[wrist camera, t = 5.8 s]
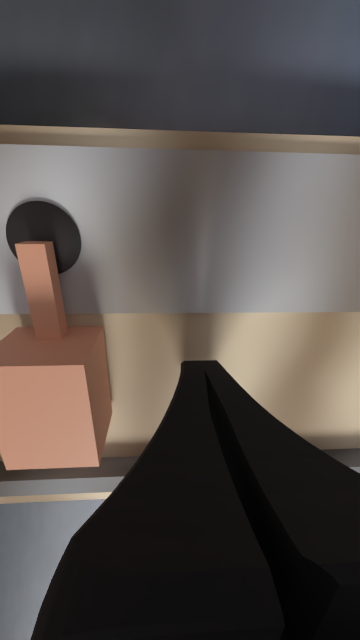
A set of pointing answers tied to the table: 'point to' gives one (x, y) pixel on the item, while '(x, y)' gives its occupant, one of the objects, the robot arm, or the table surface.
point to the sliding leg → (51, 378)
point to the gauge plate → (192, 275)
